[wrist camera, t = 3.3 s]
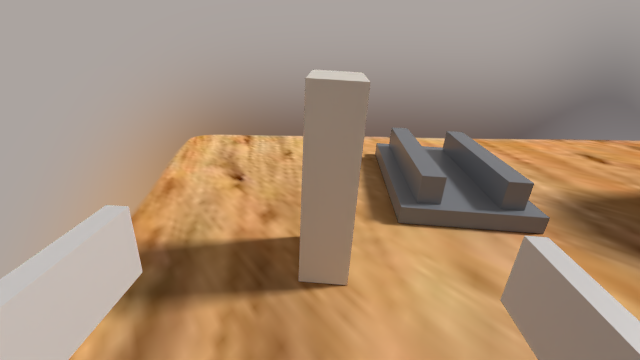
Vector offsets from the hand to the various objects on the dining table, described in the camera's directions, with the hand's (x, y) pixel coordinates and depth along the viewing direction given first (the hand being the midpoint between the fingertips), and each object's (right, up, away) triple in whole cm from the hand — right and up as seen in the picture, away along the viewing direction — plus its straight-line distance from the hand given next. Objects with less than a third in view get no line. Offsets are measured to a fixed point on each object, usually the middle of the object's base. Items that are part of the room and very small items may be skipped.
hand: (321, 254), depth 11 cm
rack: (+13, +2, +24) cm, 27 cm away
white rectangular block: (0, -3, +11) cm, 11 cm away
